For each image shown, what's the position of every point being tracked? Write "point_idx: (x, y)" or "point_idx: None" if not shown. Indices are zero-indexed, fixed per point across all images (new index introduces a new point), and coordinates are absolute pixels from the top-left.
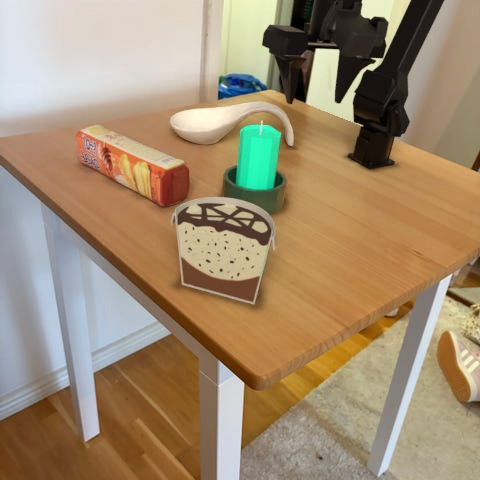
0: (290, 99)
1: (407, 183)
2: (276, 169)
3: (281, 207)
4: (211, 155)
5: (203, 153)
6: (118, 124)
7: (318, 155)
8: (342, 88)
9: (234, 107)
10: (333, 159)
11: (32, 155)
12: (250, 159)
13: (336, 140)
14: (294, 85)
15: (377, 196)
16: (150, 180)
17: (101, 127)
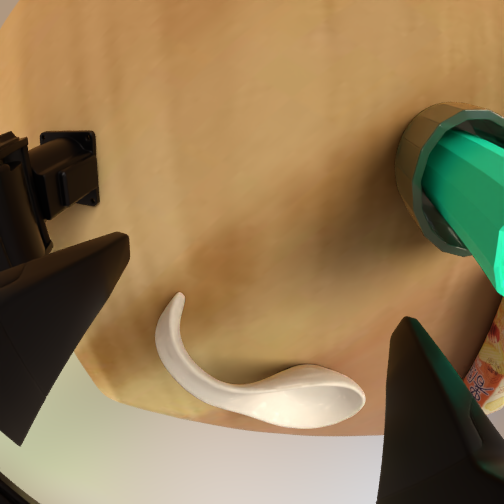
0: (427, 333)
1: (74, 51)
2: (411, 183)
3: (436, 104)
4: (349, 340)
5: (353, 350)
6: (362, 430)
7: (150, 238)
8: (82, 274)
9: (243, 409)
10: (132, 208)
11: None
12: None
13: None
14: (449, 384)
15: (176, 17)
16: None
17: (484, 410)
